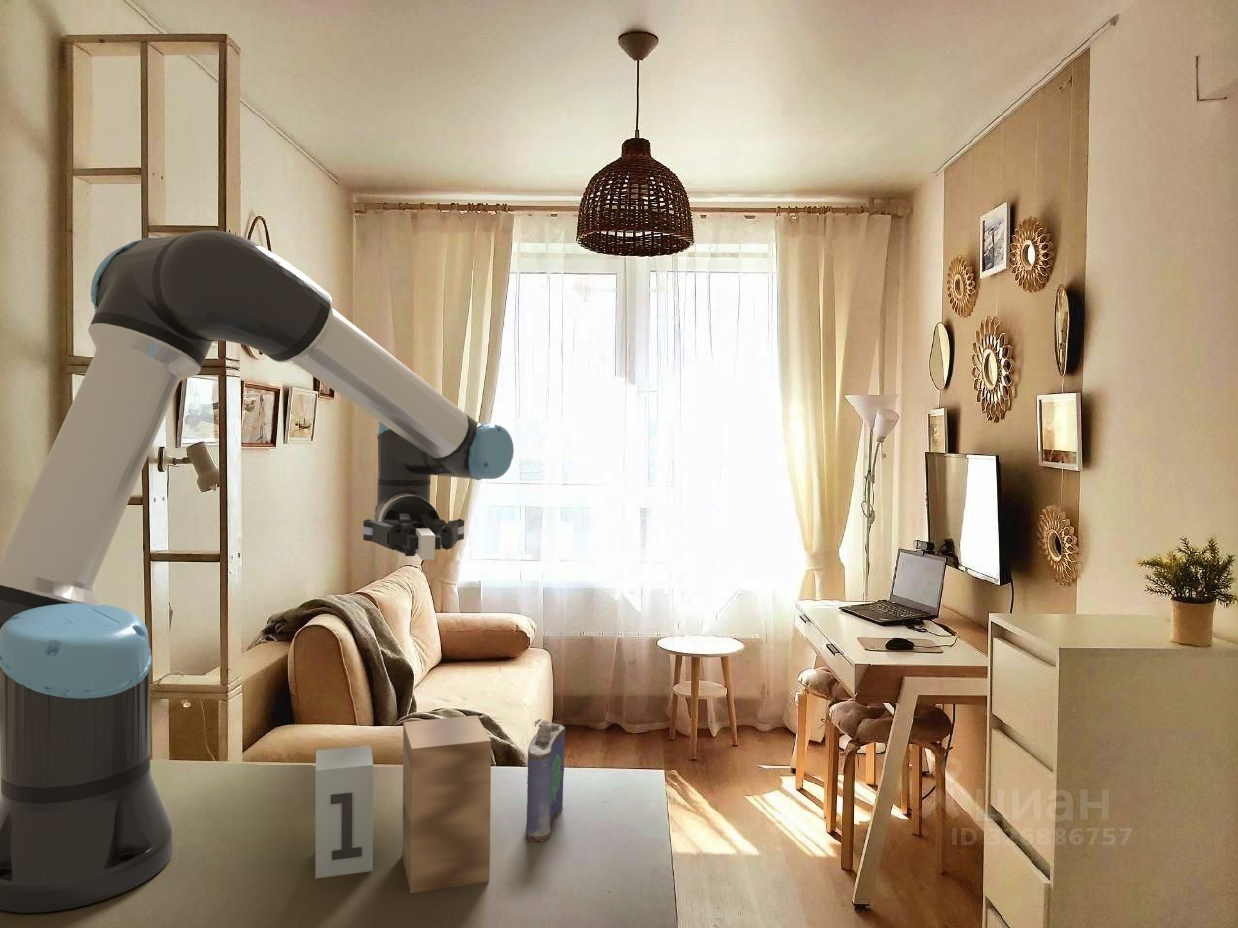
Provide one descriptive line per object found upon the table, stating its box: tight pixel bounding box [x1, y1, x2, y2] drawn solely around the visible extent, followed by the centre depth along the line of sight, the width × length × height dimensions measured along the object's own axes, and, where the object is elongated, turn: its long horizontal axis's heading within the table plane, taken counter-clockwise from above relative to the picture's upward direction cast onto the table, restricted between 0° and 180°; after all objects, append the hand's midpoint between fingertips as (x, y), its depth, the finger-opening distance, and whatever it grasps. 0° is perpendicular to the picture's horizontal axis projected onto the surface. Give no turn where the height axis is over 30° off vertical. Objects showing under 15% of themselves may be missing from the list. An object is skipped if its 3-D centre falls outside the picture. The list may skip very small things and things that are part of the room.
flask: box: [525, 718, 566, 843], centre depth 93 cm, size 9×3×11 cm, turn 172°
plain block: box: [402, 715, 492, 894], centre depth 83 cm, size 7×7×13 cm
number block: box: [315, 744, 374, 879], centre depth 84 cm, size 5×5×10 cm
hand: (428, 547), depth 100 cm, fingers closed
